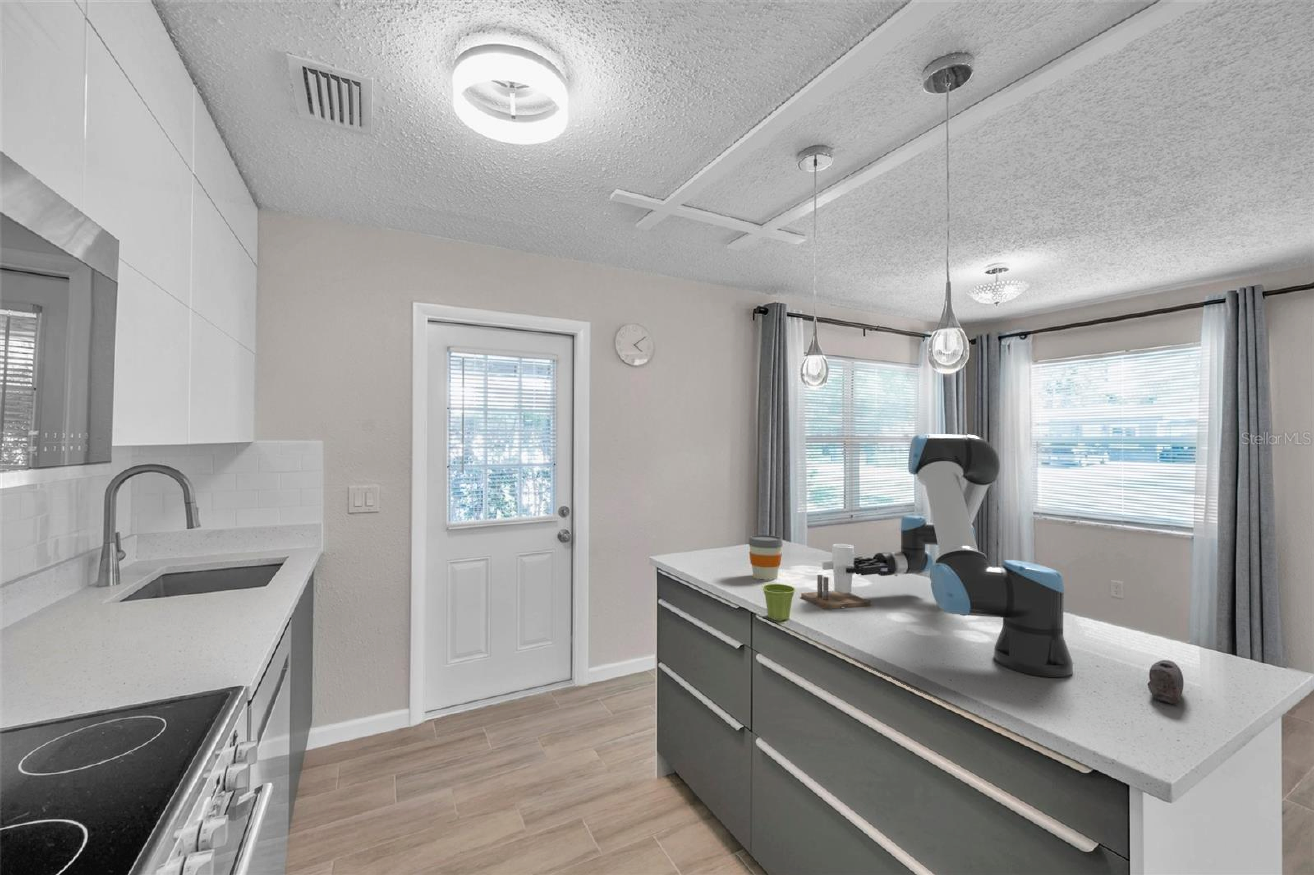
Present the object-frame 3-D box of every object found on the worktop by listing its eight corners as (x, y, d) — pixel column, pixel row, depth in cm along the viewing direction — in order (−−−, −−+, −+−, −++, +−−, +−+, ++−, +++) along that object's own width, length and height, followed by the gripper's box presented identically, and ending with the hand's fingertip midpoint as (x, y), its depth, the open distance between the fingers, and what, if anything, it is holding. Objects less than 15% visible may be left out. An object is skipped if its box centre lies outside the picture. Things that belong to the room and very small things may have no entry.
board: (842, 593, 186) (842, 569, 186) (870, 605, 172) (870, 579, 173) (801, 596, 181) (801, 572, 181) (826, 609, 168) (826, 582, 168)
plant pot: (793, 624, 154) (793, 593, 154) (760, 620, 157) (760, 590, 157) (796, 614, 163) (796, 585, 163) (764, 611, 166) (764, 582, 166)
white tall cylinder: (828, 591, 178) (828, 545, 178) (837, 587, 183) (837, 542, 183) (848, 596, 173) (848, 548, 173) (857, 591, 178) (857, 545, 178)
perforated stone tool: (1154, 680, 120) (1154, 648, 120) (1187, 688, 116) (1188, 655, 116) (1144, 702, 110) (1144, 667, 110) (1180, 712, 106) (1180, 676, 106)
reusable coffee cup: (744, 573, 212) (744, 535, 212) (776, 573, 214) (776, 534, 214) (753, 582, 200) (754, 540, 200) (787, 581, 201) (787, 540, 201)
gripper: (910, 582, 174) (848, 587, 167) (869, 568, 192) (812, 572, 186) (910, 558, 174) (848, 562, 167) (869, 547, 192) (812, 550, 186)
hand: (829, 568), depth 176 cm, fingers closed on white tall cylinder, 6 cm apart
